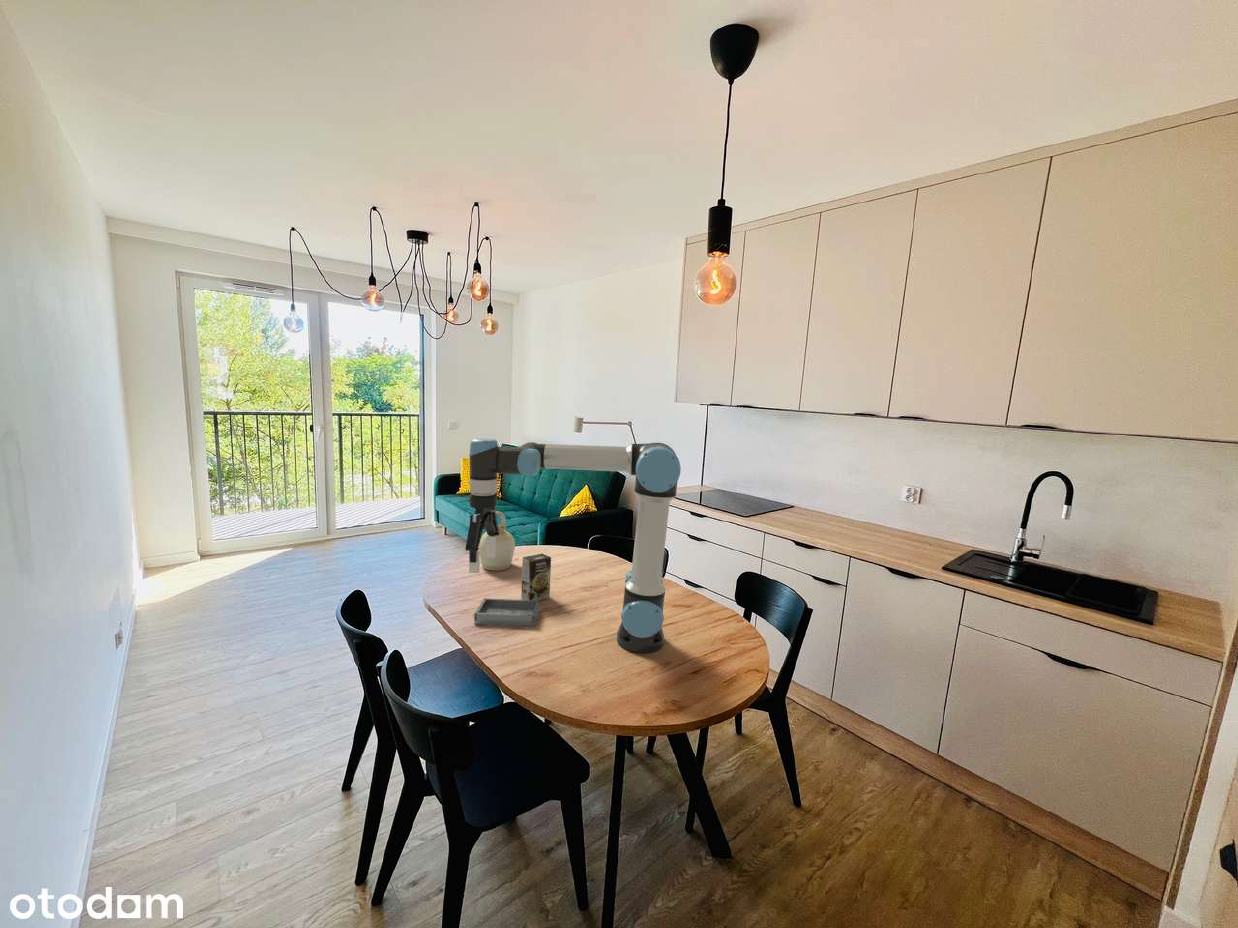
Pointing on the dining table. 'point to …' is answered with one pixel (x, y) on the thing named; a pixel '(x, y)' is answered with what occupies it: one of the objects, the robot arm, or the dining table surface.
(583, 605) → the dining table surface
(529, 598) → the coffee box
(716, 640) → the dining table surface
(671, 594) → the dining table surface
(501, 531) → the jug
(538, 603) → the grey shallow tray
